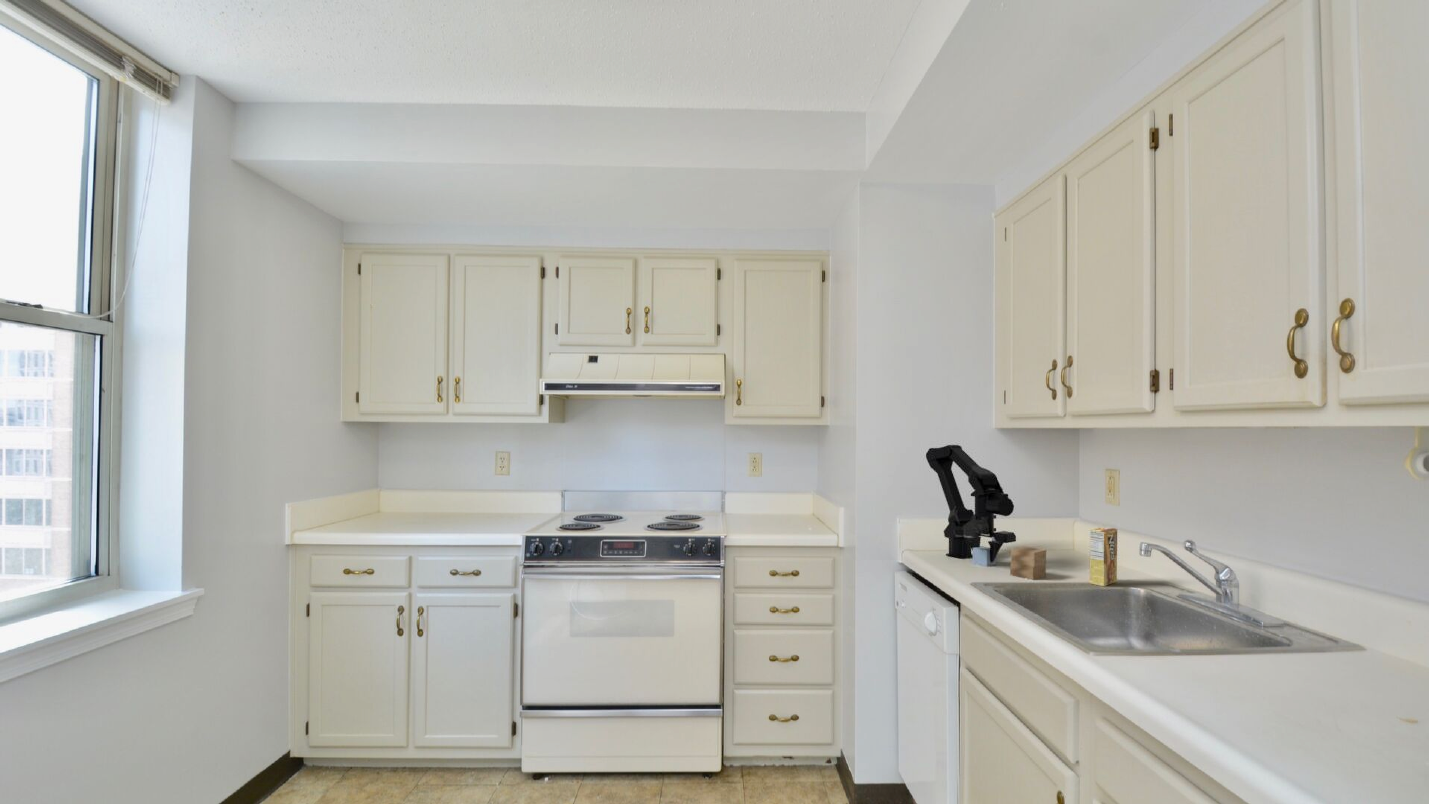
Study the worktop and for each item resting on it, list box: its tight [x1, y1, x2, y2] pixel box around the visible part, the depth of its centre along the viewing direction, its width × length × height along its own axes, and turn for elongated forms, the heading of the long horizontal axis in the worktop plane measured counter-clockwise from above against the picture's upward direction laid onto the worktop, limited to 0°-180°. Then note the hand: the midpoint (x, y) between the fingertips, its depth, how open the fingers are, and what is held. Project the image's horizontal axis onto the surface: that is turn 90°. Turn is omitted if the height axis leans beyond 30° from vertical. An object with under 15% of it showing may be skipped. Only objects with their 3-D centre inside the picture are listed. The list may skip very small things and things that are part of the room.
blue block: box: [972, 545, 997, 567], centre depth 220 cm, size 5×5×5 cm
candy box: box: [1089, 526, 1118, 587], centre depth 196 cm, size 9×4×15 cm, turn 129°
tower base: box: [1009, 561, 1047, 581], centre depth 204 cm, size 7×7×4 cm
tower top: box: [1010, 546, 1047, 567], centre depth 204 cm, size 7×7×4 cm
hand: (984, 560), depth 220 cm, fingers closed on blue block, 5 cm apart
